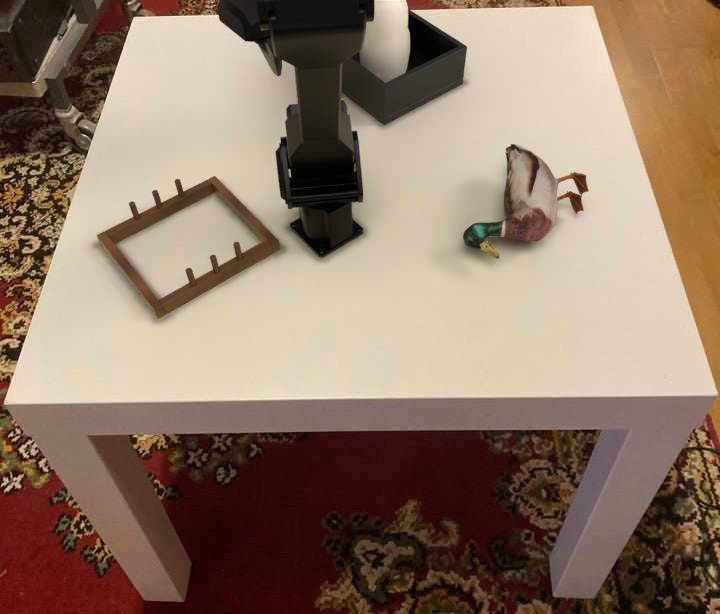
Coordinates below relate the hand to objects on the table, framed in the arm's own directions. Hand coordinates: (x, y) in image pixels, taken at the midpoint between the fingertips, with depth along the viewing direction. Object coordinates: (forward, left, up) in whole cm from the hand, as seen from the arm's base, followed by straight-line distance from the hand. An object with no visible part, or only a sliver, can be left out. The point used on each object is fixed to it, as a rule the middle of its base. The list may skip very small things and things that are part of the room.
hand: (309, 59), depth 84 cm
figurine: (+6, -16, -12) cm, 21 cm away
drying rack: (-5, +22, -13) cm, 26 cm away
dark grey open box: (+6, -17, -13) cm, 22 cm away
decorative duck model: (-25, -10, -13) cm, 30 cm away
